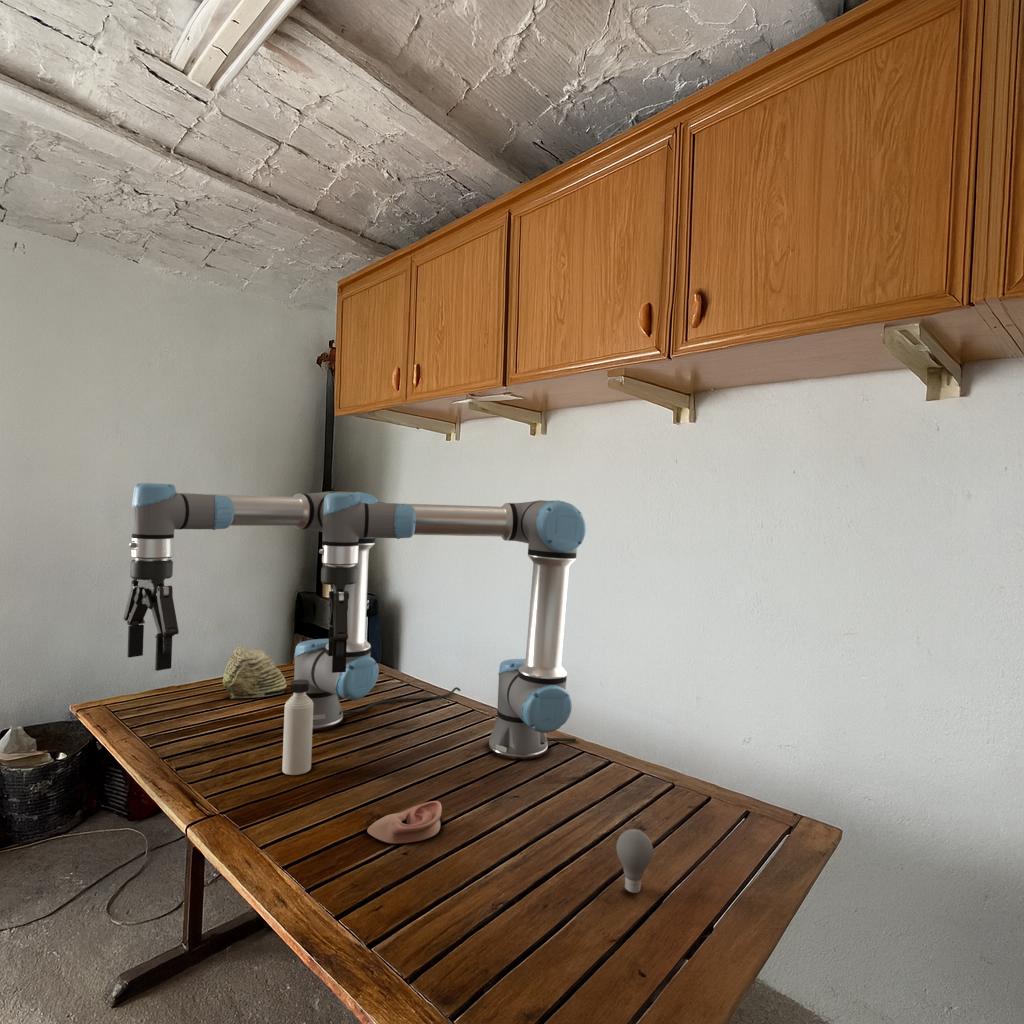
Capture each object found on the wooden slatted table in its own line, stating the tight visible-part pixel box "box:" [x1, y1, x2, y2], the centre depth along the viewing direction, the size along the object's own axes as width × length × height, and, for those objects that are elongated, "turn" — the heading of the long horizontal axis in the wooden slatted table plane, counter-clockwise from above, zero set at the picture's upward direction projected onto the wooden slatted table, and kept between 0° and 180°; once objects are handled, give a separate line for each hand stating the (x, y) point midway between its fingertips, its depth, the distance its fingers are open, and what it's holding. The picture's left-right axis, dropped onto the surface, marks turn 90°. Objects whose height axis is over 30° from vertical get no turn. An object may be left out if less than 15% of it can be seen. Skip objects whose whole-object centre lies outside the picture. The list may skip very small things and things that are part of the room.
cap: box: [290, 679, 309, 693], centre depth 146 cm, size 4×4×2 cm
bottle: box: [281, 692, 313, 776], centre depth 146 cm, size 6×6×20 cm
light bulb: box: [615, 828, 654, 894], centre depth 106 cm, size 6×6×10 cm
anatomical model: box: [366, 800, 443, 845], centre depth 122 cm, size 13×4×12 cm
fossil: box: [222, 646, 288, 699], centre depth 198 cm, size 9×18×15 cm, turn 132°
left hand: (148, 662), depth 129 cm, fingers open, 13 cm apart
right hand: (336, 663), depth 136 cm, fingers open, 13 cm apart
